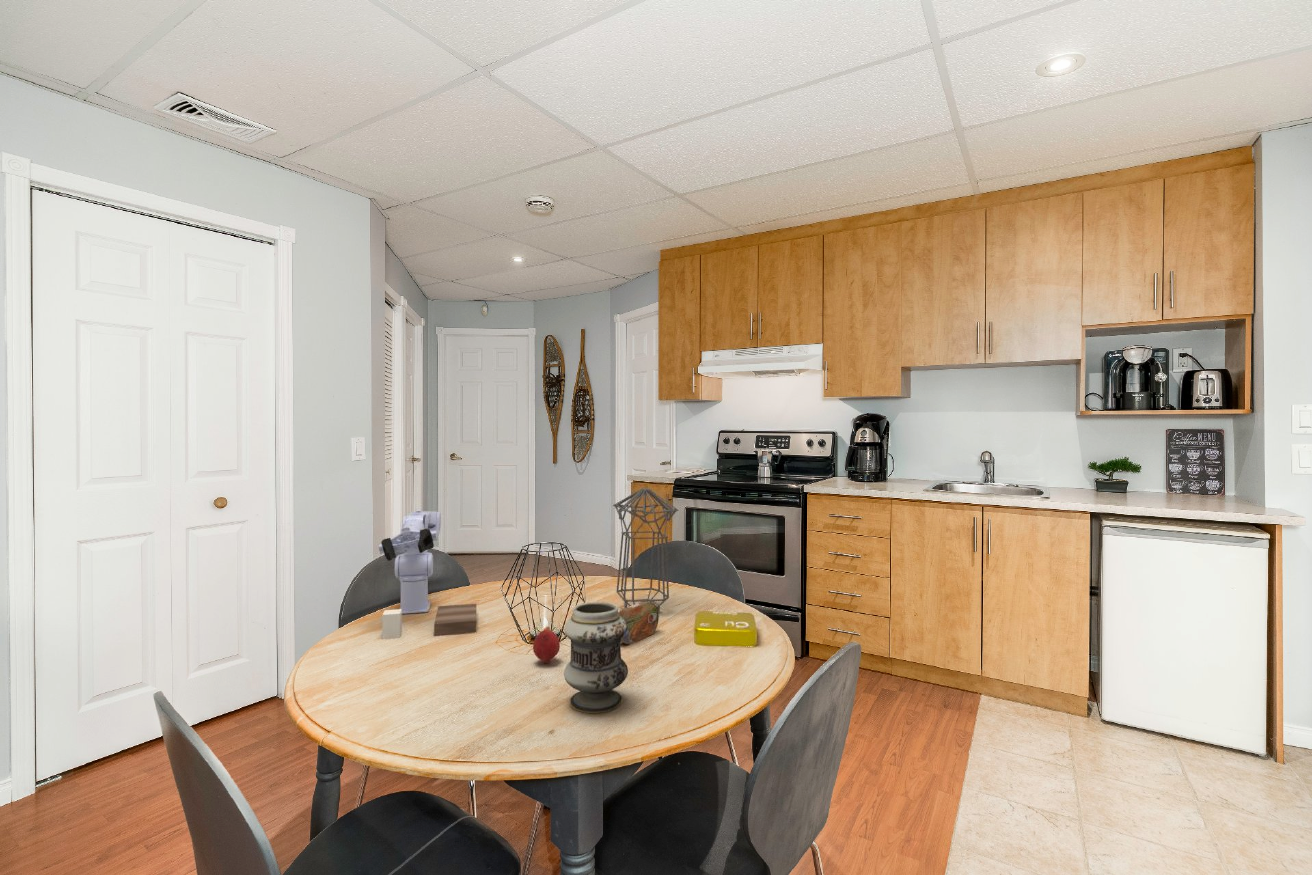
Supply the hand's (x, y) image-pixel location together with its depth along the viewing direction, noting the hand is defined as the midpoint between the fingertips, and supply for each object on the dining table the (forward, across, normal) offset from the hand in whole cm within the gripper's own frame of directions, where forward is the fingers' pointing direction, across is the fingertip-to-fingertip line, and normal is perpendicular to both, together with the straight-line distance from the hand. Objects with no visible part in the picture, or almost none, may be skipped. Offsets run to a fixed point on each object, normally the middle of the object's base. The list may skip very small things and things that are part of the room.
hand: (404, 552), depth 154 cm
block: (+5, -7, +19) cm, 20 cm away
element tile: (+25, +72, +34) cm, 83 cm away
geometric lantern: (0, +57, +34) cm, 67 cm away
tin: (+22, +51, +29) cm, 62 cm away
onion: (+32, +29, +22) cm, 48 cm away
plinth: (0, +8, +23) cm, 24 cm away
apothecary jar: (+54, +37, +21) cm, 68 cm away
